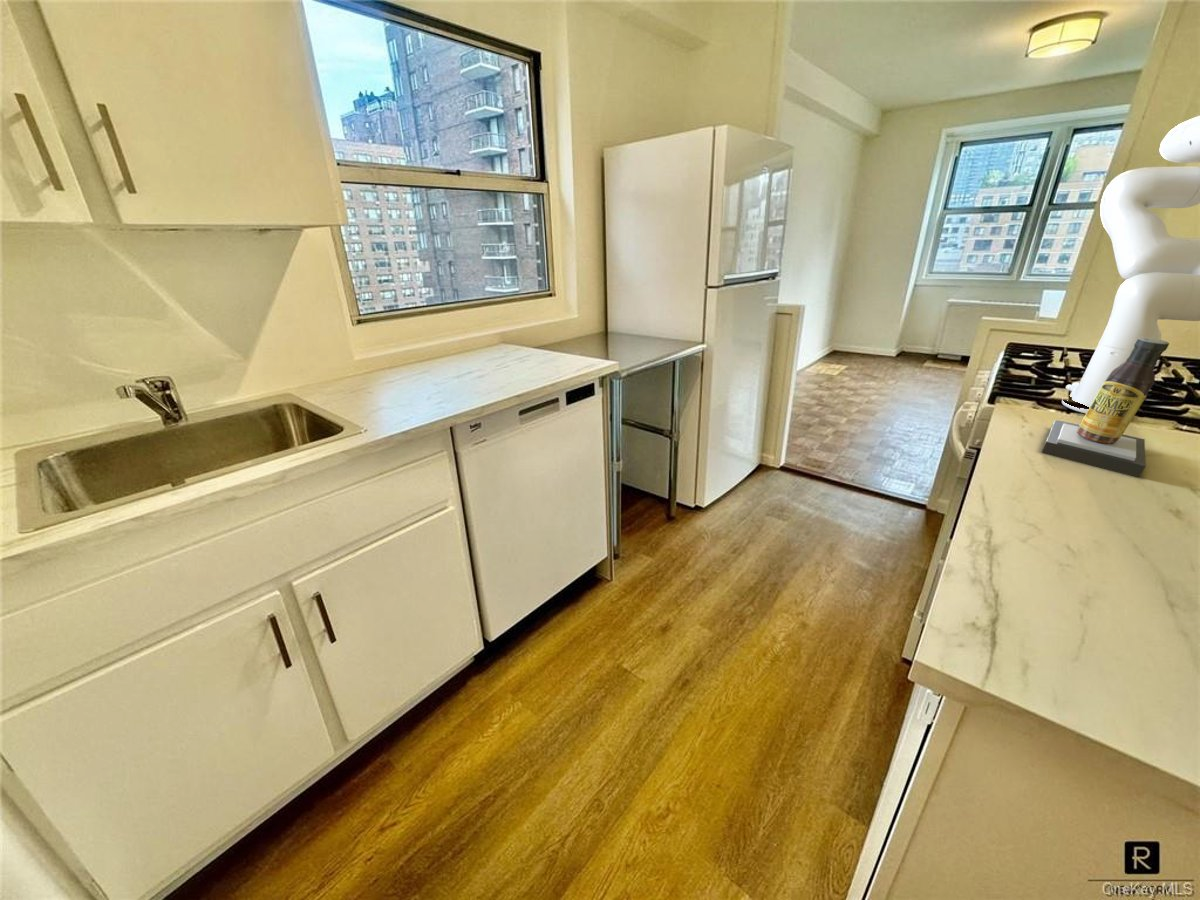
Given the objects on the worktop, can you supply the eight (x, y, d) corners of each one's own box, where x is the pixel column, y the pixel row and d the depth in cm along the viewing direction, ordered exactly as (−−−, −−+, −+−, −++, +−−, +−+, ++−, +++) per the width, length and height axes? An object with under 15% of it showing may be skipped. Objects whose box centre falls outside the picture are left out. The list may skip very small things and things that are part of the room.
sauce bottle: (1068, 434, 97) (1117, 336, 88) (1085, 429, 99) (1135, 333, 90) (1109, 448, 92) (1166, 345, 83) (1126, 442, 94) (1183, 342, 85)
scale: (1050, 429, 107) (1056, 416, 106) (1138, 449, 99) (1146, 435, 97) (1041, 452, 97) (1048, 438, 96) (1138, 477, 88) (1148, 462, 87)
